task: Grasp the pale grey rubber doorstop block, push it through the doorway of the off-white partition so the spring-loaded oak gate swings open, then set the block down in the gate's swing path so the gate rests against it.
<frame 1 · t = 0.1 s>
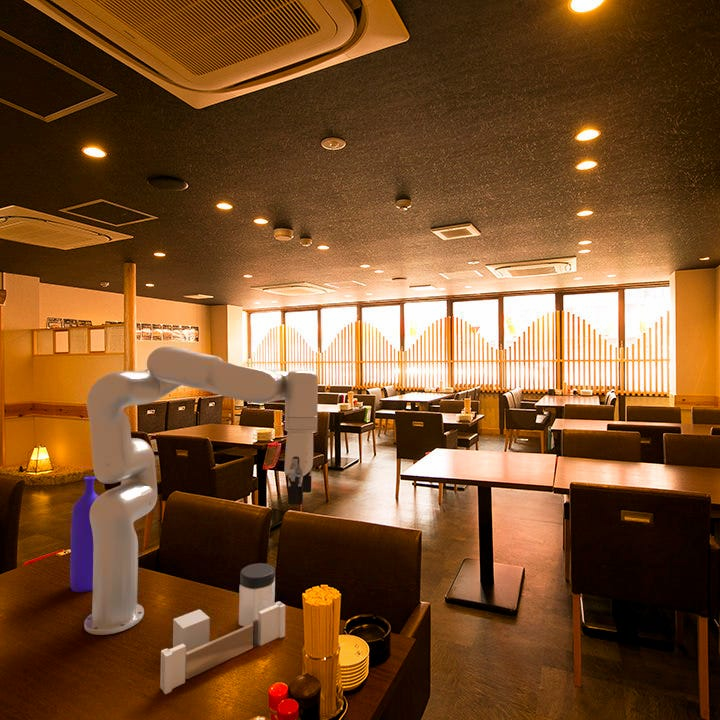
hand: (300, 497, 106), 31 cm above the table, tool pointing down, fingers open, 9 cm apart
jar: (257, 620, 111), on the table
bottle: (87, 586, 127), on the table
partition: (226, 660, 95), on the table
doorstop: (191, 646, 100), on the table
gate: (224, 647, 95), point 3 cm above the table, hinge at 0.0°
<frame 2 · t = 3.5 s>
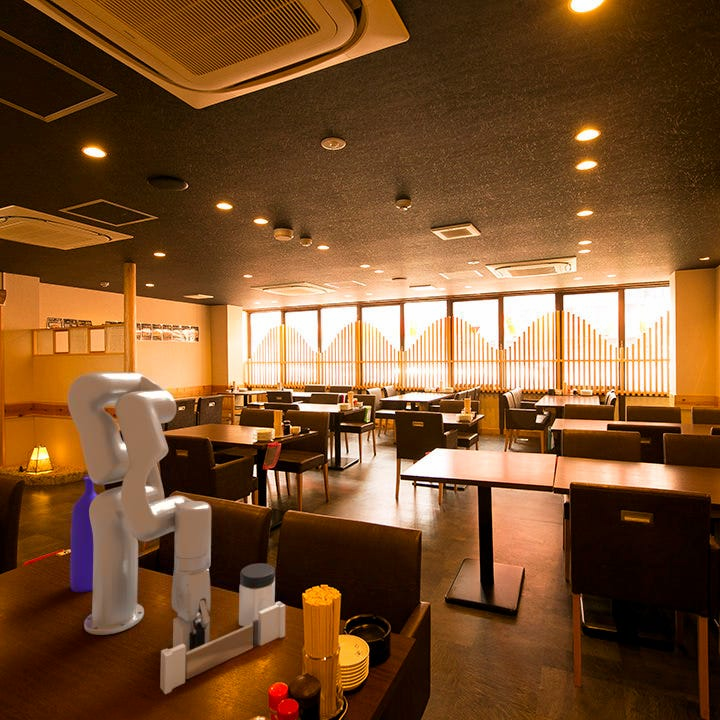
hand: (191, 642, 100), 1 cm above the table, tool pointing down, fingers closed on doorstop, 5 cm apart
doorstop: (191, 645, 100), on the table, touching gripper
everything else where it was.
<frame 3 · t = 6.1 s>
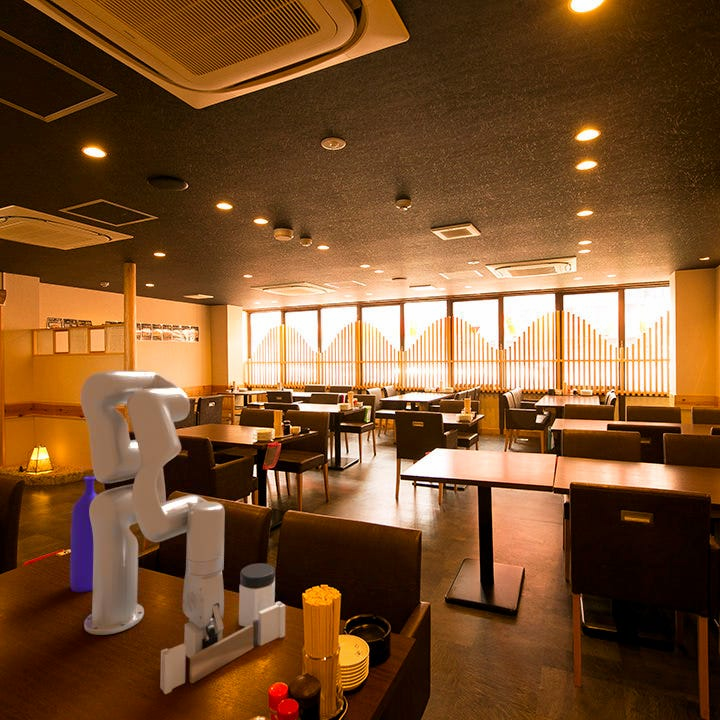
hand: (203, 649, 96), 2 cm above the table, tool pointing down, fingers closed on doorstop, 5 cm apart
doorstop: (203, 652, 96), point 1 cm above the table, touching gripper
gate: (226, 649, 94), point 3 cm above the table, hinge at 6.9°, touching gripper
everything else where it was.
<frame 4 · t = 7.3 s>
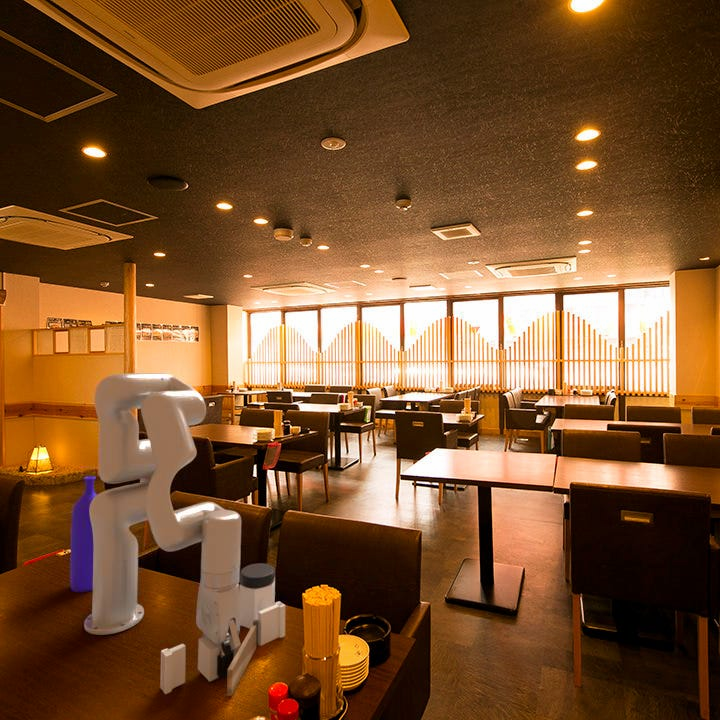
hand: (217, 664, 91), 2 cm above the table, tool pointing down, fingers closed on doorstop, 5 cm apart
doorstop: (217, 668, 91), point 1 cm above the table, touching gripper
gate: (244, 654, 93), point 3 cm above the table, hinge at 40.9°, touching gripper
everything else where it was.
when the fingers open (1 cm above the table, at t = 9.7 s): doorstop stays where it is, on the table.
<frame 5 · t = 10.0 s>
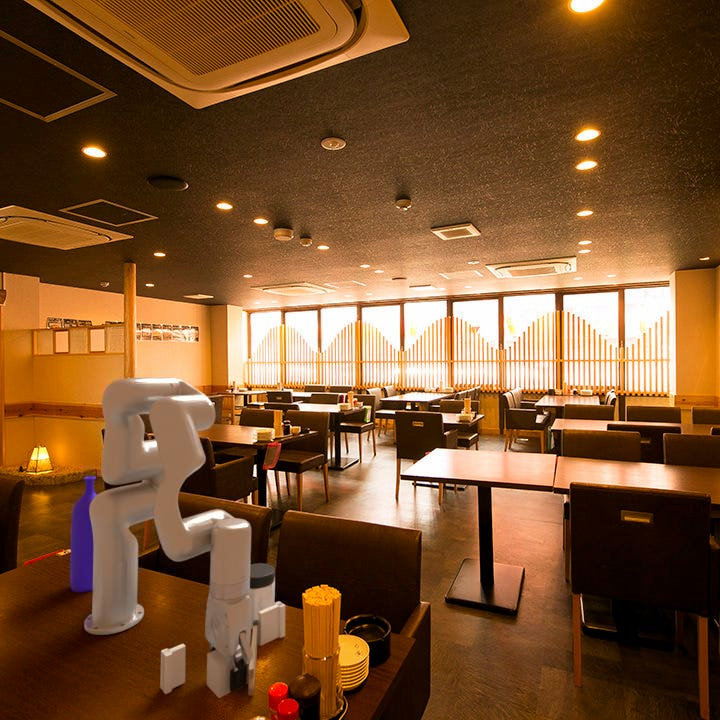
hand: (227, 676, 89), 1 cm above the table, tool pointing down, fingers open, 7 cm apart
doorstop: (227, 684, 88), on the table
gate: (253, 654, 93), point 3 cm above the table, hinge at 55.4°, touching gripper
everything else where it was.
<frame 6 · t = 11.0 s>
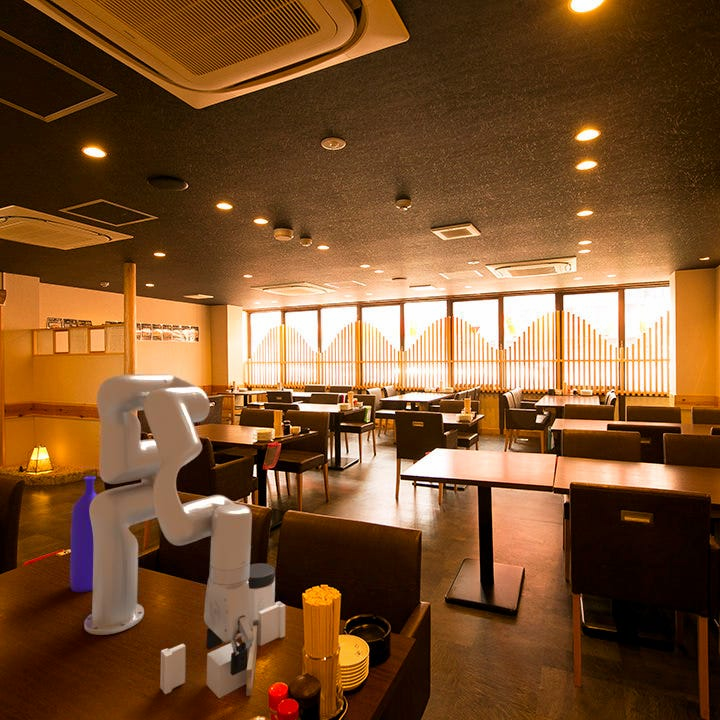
hand: (226, 658, 89), 5 cm above the table, tool pointing down, fingers open, 9 cm apart
gate: (252, 654, 93), point 3 cm above the table, hinge at 54.1°, touching gripper
everything else where it was.
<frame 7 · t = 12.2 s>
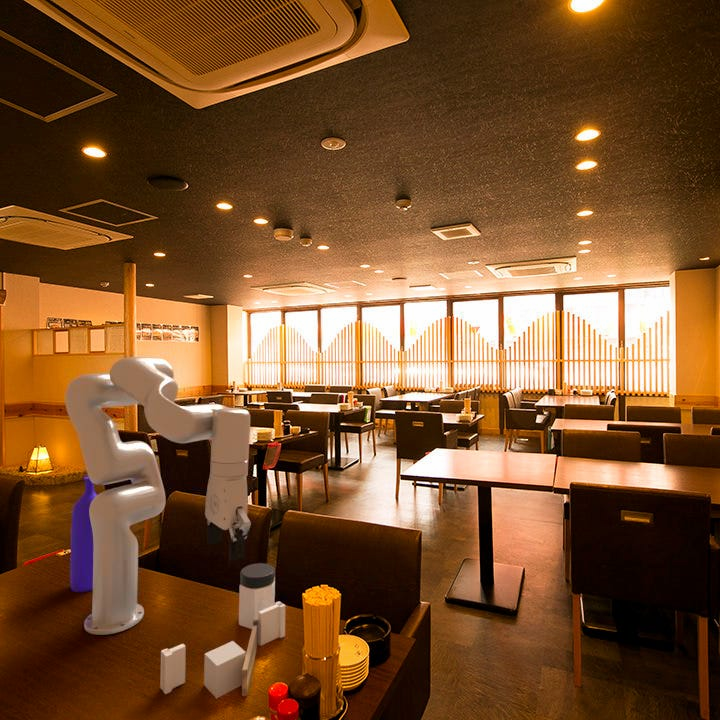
hand: (225, 550, 95), 23 cm above the table, tool pointing down, fingers open, 9 cm apart
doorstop: (224, 684, 88), on the table, touching gate
gate: (250, 654, 93), point 3 cm above the table, hinge at 51.1°, touching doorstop
everything else where it was.
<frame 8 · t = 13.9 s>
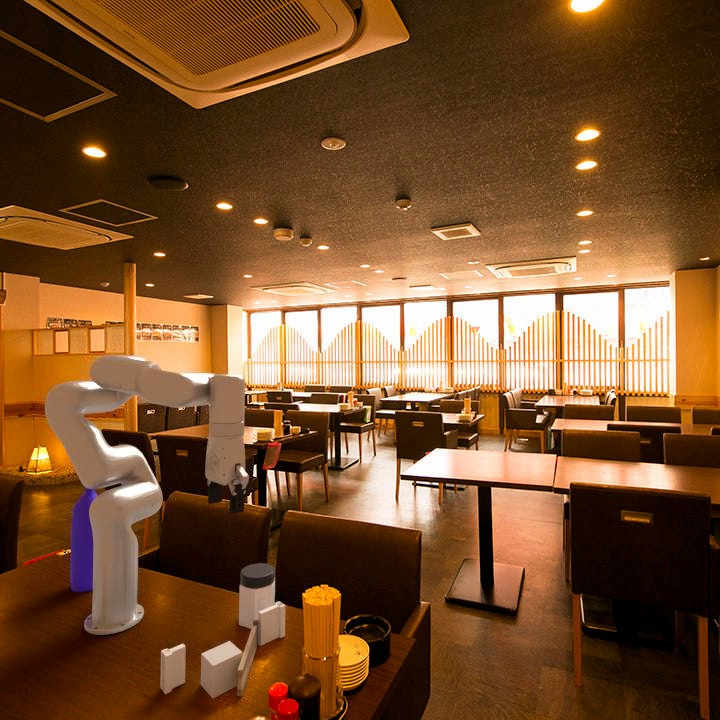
hand: (225, 507, 101), 30 cm above the table, tool pointing down, fingers open, 9 cm apart
gate: (248, 654, 93), point 3 cm above the table, hinge at 47.9°, touching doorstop
everything else where it was.
at the end: gate at +48° (first picture: +0°); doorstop inside the target area (2.6 cm from its centre), on the table; the gripper is holding nothing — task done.
